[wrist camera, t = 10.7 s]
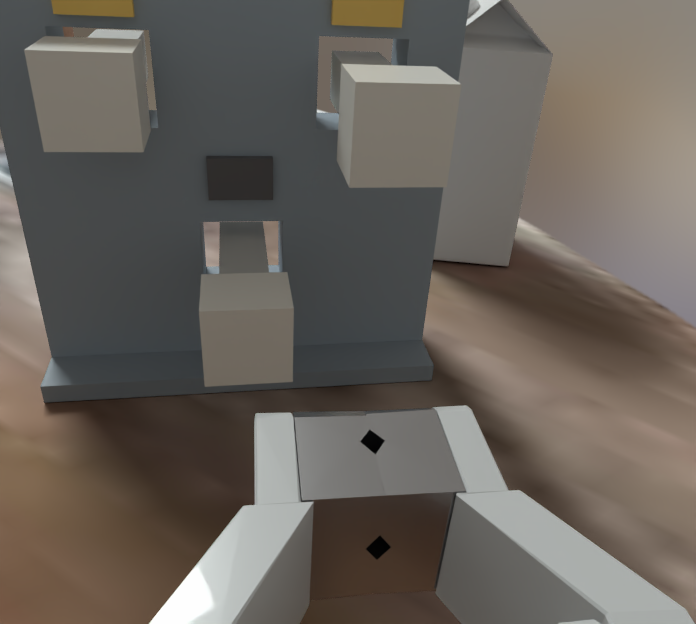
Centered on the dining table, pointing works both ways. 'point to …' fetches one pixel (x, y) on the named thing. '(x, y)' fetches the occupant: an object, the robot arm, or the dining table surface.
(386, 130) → the button top right
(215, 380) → the button bottom
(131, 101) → the button top left
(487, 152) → the milk carton
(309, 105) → the panel
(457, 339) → the dining table surface
